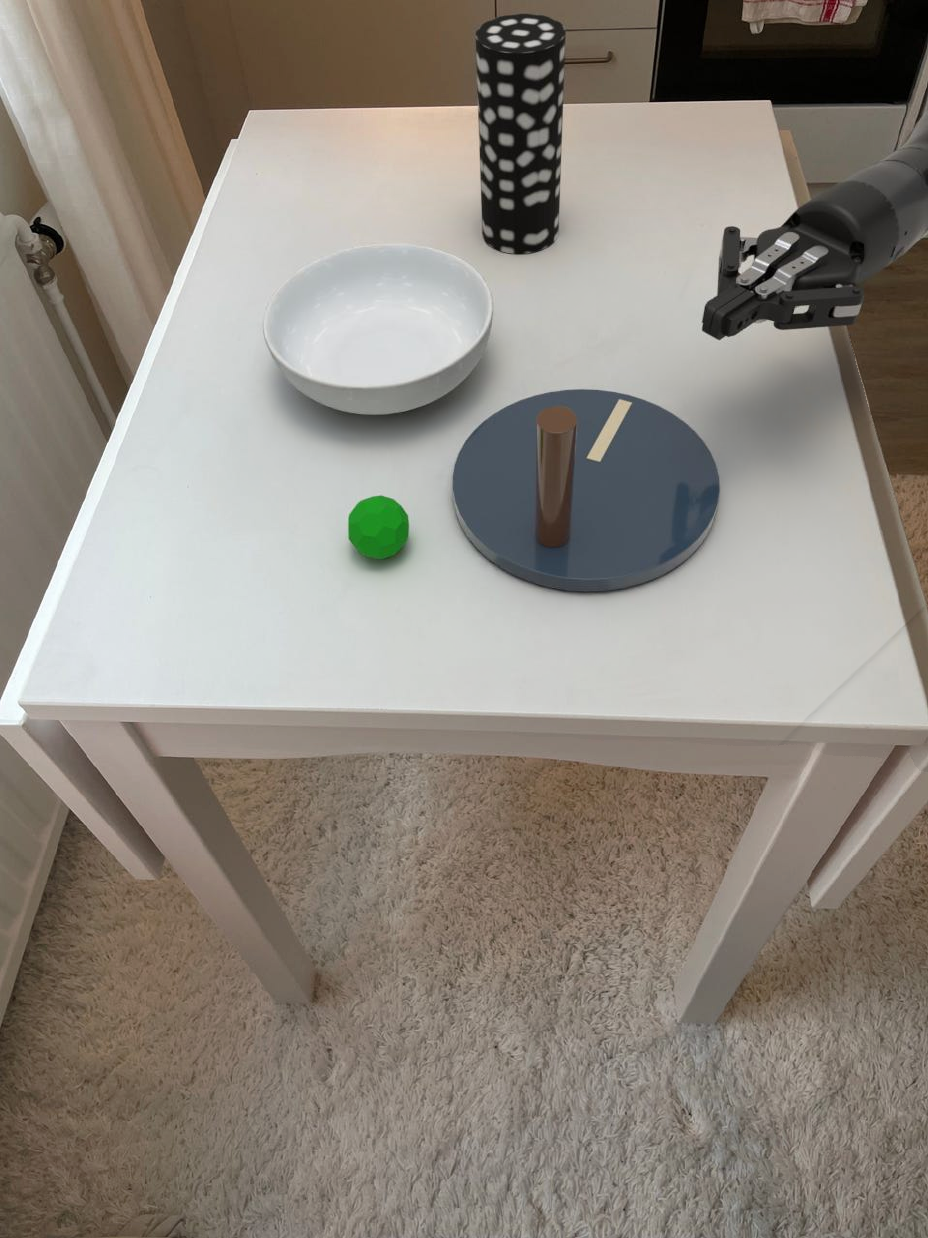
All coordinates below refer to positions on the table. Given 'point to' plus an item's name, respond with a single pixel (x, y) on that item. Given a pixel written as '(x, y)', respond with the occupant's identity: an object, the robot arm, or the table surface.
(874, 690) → the table surface
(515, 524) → the peg stand
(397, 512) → the polyhedron
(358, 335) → the serving bowl
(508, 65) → the spotted tube
